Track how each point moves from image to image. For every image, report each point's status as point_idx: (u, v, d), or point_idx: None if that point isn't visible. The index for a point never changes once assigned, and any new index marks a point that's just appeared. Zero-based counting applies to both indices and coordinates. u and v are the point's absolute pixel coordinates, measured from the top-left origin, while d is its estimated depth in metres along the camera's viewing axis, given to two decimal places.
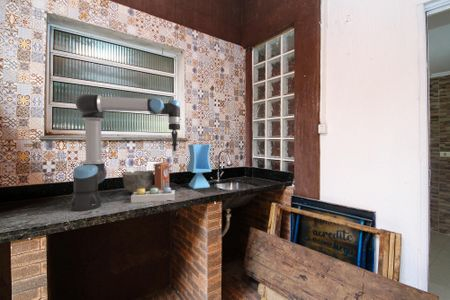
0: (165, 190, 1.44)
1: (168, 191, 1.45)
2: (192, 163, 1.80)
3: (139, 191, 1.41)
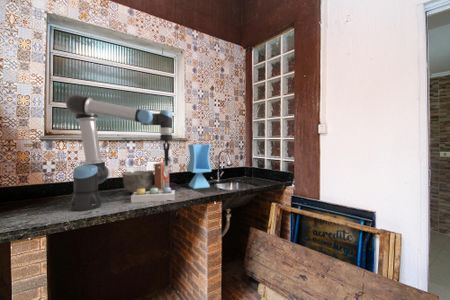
0: (165, 190, 1.44)
1: (168, 191, 1.45)
2: (192, 163, 1.80)
3: (139, 191, 1.41)
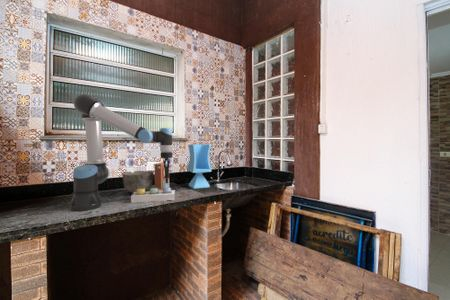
0: (165, 190, 1.44)
1: (168, 191, 1.45)
2: (192, 163, 1.80)
3: (139, 191, 1.41)
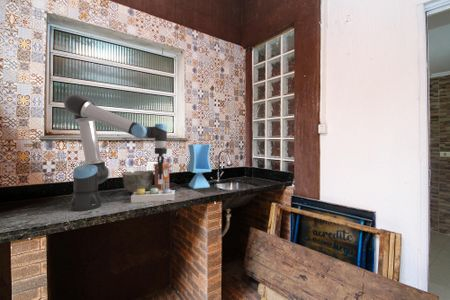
0: (165, 192, 1.44)
1: None
2: (192, 163, 1.80)
3: (139, 191, 1.41)
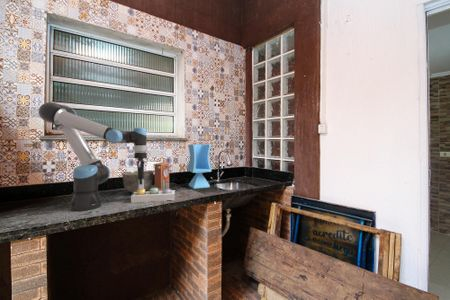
0: (165, 192, 1.44)
1: None
2: (192, 163, 1.80)
3: (139, 192, 1.41)
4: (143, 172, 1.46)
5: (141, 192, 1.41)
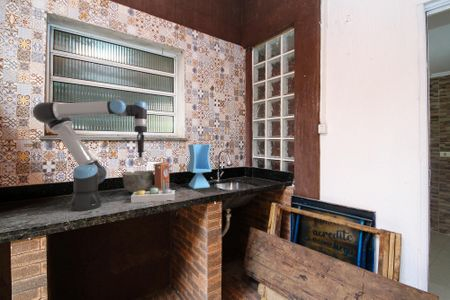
0: (165, 192, 1.44)
1: None
2: (192, 163, 1.80)
3: (139, 193, 1.41)
4: (143, 146, 1.49)
5: (141, 194, 1.41)
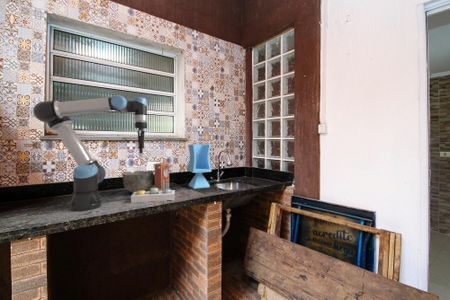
0: (165, 192, 1.44)
1: None
2: (192, 163, 1.80)
3: (139, 193, 1.41)
4: (143, 142, 1.49)
5: (141, 194, 1.41)
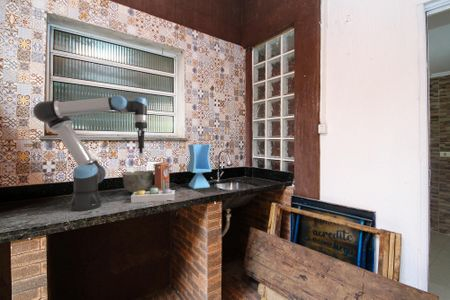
0: (165, 192, 1.44)
1: None
2: (192, 163, 1.80)
3: (139, 193, 1.41)
4: (143, 142, 1.49)
5: (141, 194, 1.41)
